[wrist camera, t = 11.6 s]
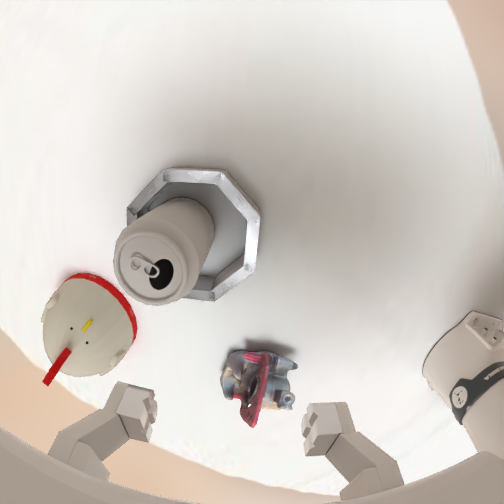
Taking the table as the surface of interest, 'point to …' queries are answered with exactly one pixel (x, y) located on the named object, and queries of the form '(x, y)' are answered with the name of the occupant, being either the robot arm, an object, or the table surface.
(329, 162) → the table surface
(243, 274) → the steel ring
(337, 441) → the robot arm
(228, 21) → the table surface
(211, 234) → the can
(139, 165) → the table surface
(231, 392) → the brake caliper
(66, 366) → the kitchen timer
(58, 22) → the table surface
